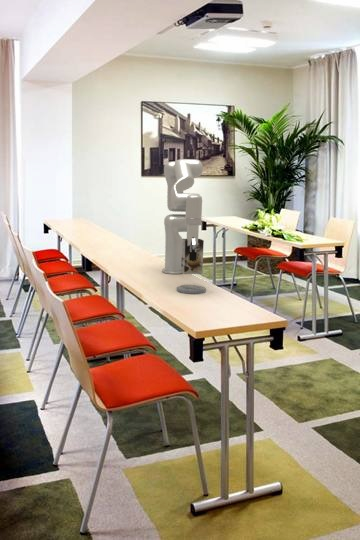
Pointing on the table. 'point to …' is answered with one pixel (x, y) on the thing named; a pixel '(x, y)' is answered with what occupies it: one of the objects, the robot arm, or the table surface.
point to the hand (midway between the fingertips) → (192, 258)
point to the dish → (191, 289)
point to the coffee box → (192, 266)
